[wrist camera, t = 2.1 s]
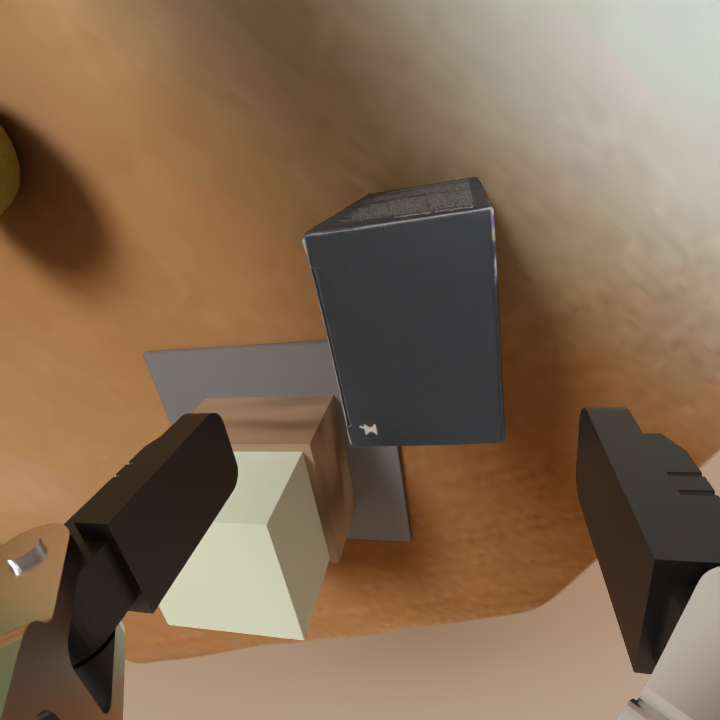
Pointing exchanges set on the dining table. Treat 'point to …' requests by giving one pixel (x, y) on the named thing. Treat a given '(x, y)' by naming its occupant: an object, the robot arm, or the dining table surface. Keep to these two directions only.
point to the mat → (287, 378)
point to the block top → (256, 555)
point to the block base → (297, 449)
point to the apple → (8, 171)
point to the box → (413, 315)
